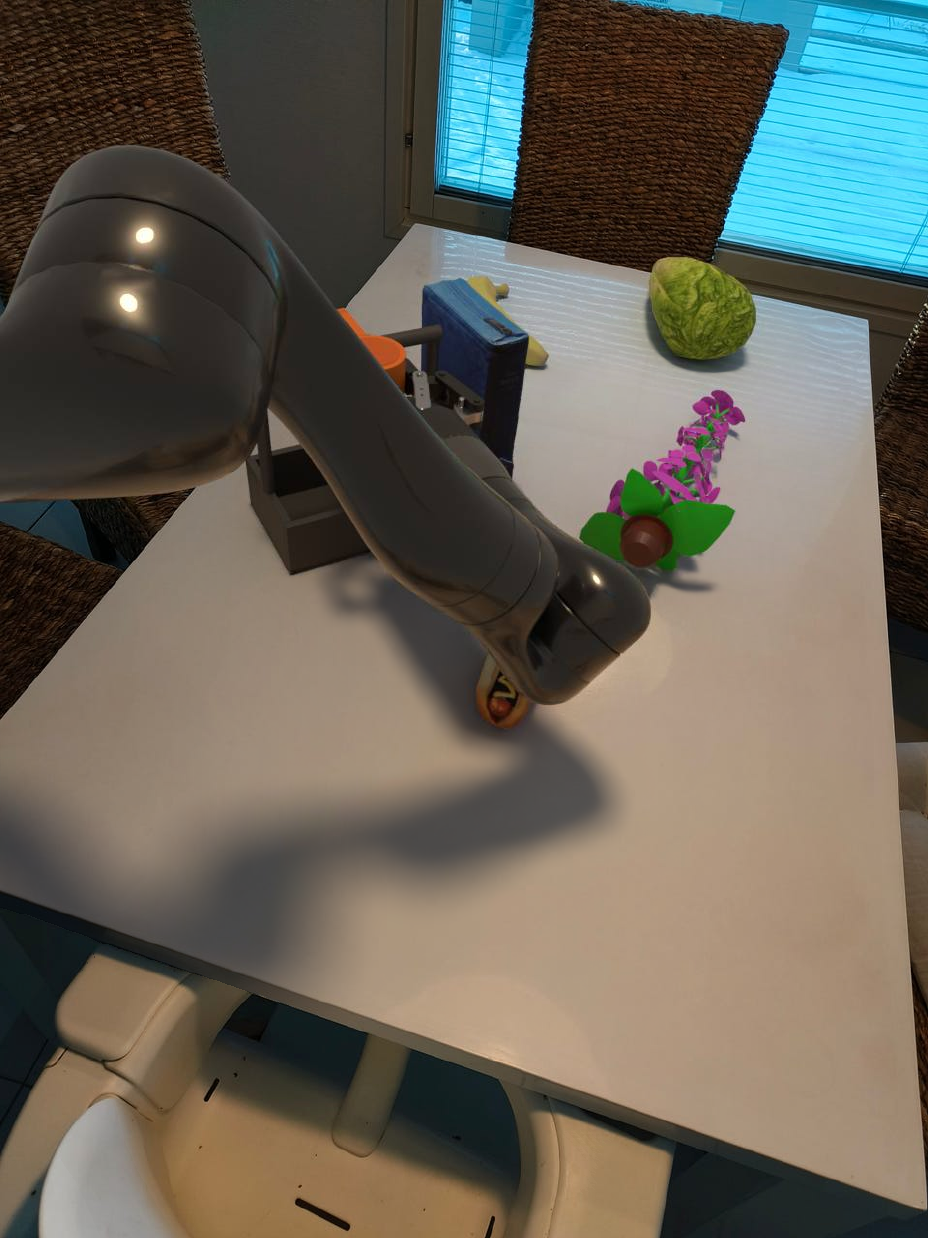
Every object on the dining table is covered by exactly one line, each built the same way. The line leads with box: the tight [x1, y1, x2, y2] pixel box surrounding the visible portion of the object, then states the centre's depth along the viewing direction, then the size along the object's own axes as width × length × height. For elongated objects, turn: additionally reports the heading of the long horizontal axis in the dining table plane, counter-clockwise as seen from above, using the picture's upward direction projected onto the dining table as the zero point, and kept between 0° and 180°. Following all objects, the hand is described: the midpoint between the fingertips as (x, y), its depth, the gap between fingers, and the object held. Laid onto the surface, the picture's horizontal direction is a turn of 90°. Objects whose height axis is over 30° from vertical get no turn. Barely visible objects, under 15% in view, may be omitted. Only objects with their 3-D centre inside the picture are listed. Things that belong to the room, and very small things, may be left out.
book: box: [420, 277, 530, 479], centre depth 88 cm, size 14×5×20 cm, turn 31°
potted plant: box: [578, 389, 746, 572], centre depth 92 cm, size 12×16×35 cm
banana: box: [465, 275, 550, 367], centre depth 117 cm, size 14×6×20 cm
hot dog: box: [475, 653, 532, 730], centre depth 73 cm, size 5×13×5 cm, turn 160°
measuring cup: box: [336, 307, 407, 396], centre depth 75 cm, size 10×6×9 cm, turn 28°
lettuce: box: [648, 256, 757, 361], centre depth 119 cm, size 12×24×13 cm
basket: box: [245, 325, 443, 576], centre depth 81 cm, size 18×12×20 cm, turn 119°
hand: (359, 369), depth 74 cm, fingers closed on measuring cup, 5 cm apart
